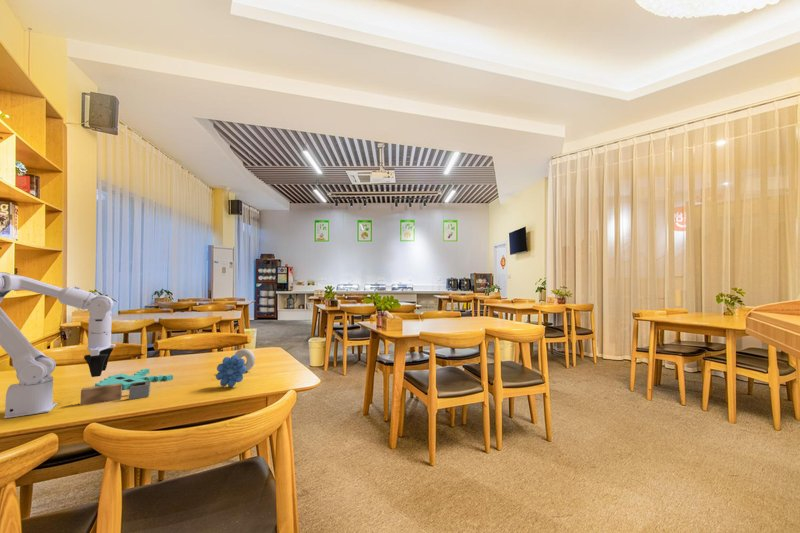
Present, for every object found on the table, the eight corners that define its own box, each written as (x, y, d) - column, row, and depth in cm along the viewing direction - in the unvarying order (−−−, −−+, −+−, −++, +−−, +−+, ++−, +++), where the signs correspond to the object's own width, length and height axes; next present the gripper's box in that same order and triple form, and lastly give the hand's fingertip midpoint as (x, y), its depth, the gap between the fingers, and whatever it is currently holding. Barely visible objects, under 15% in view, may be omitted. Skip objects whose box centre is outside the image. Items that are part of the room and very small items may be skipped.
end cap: (129, 399, 114) (129, 387, 114) (131, 394, 119) (132, 382, 119) (148, 396, 116) (148, 385, 117) (150, 391, 122) (150, 380, 122)
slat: (80, 405, 109) (81, 390, 109) (82, 403, 111) (82, 388, 111) (120, 400, 114) (121, 384, 114) (121, 397, 116) (122, 383, 116)
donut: (256, 370, 149) (257, 348, 150) (251, 373, 146) (252, 349, 146) (236, 369, 151) (236, 347, 151) (231, 371, 148) (231, 348, 148)
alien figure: (146, 373, 146) (86, 386, 128) (146, 368, 146) (86, 380, 128) (172, 380, 136) (112, 395, 119) (173, 375, 136) (112, 389, 119)
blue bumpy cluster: (251, 383, 132) (252, 352, 132) (242, 389, 125) (243, 356, 125) (222, 382, 132) (223, 352, 133) (212, 388, 125) (212, 356, 126)
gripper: (111, 334, 108) (110, 377, 108) (119, 328, 121) (118, 366, 120) (82, 336, 105) (80, 380, 104) (93, 329, 117) (91, 369, 117)
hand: (98, 373), depth 112 cm, fingers open, 7 cm apart
